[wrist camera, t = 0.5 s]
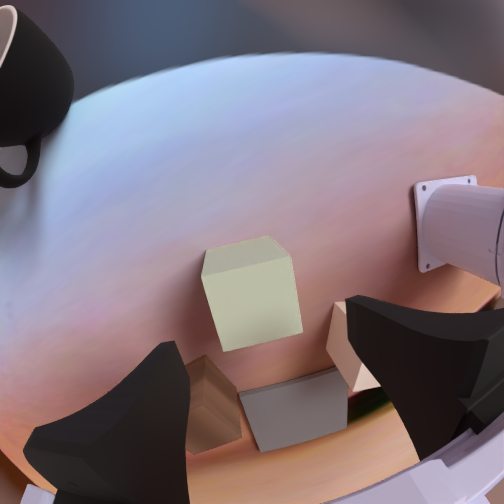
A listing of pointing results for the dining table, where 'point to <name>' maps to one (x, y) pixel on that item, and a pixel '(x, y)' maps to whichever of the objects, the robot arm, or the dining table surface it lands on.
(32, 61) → the mug
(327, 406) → the coaster
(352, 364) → the cream block
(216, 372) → the walnut block
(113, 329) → the dining table surface
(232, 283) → the green block
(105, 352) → the dining table surface
